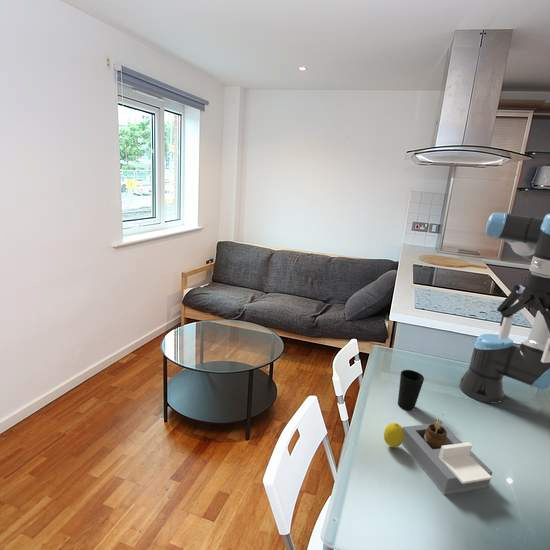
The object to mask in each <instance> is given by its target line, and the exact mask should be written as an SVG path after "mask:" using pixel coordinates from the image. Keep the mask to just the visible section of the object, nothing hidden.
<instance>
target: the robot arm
mask: <svg viewBox="0 0 550 550" xmlns="http://www.w3.org/2000/svg"><path fill="white" fill-rule="evenodd" d="M485 234H486V236H487V237H489V238H493V239H496V240H498V239H499V240H503V241H505V242H506V243H507V244H509V245H510V247H511V249H512V251H513V252H514V254H516V255H518V256H520V257H522V258H523V259H526V260H528V261H530V266H529V269H528V270H529V271H530V272H528V273H527V275H526V279H525V282H524V285H523V284H515V285H514V286H513V287H512V291H511V292H510V293H509V294H508V296H507V297H506V298H505V299H504V300H503V301H502V303H501V304H500V305H499V306H498V307H497V310H496V311H497V312H499V313H500V314H501V319H500V324H499V326H500V331H499V334H493V333H485V334H484V333H483V334H480V335H478V336H477V338H476V339H475V340H476V341H475V343H474V344H473V351H472V354H471V358H470V363H469V367H468V369H467V370H466V371H465V373H463V374H464V375H463V376H462V377H461V378H460V381H459V383H458V384H459V385H458V386H460V387H459V389H460V388H461V389H460V390H461V392H462V393H464V394H465V393H466V394H467V396H468V395H469V396H468V397H470V396H471V397H470V398H472V397H473V398H472V399H473V400H476V399H477V401H479V402H482V401H483V403H486V402H490V403H489V404H492V403H491V402H499V401H501V400H502V401H503V399H504V394H505V393H504V389H503V388H504V386H503V385H504V382H503V379H504V377H507V378H510V379H513V380H515V381H517V382H520V383H523V384H525V385H529V386H530V387H533V388H536V389H538V390H539V389H540V390H543V391H546V390H549V389H550V213H548V214H546V215H545V216H544V218H543V217H542V218H541V217H536V216H535V217H533V216H526V215H519V214H514V213H507V212H493V213H492V214H490V215H489V217H488V220H487V221H486V226H485ZM522 294H523V297H522V298H521V299H519V298H520V297H521V296H522ZM526 307H528V308H532V309H534V310H535V311H537V312H536V315H535V318H534V320H533V323H532V326H531V328H530V332H529V335H528V339H526V340H523V341H522V342H521V343H520V346H518V345H514V341H513V339H512V338H509V336H510V333H511V332H510V331H511V328H512V325H513V322H514V317H513V316H514V315H515V314H516V313H518V312H520V311H521V310H523V309H525V308H526ZM466 394H465V395H466ZM502 401H501V402H502ZM499 403H500V402H499Z"/></svg>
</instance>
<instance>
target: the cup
mask: <svg viewBox="0 0 550 550" xmlns="http://www.w3.org/2000/svg"><path fill="white" fill-rule="evenodd" d="M399 378H400V379H399V386H398V387H399V389H398V399H397V406H398V407H399V408H400V409H402V410H405V411H407V412H408V411H411V412H412V411H414V410H415V407H416V404H417V401H418V399H419V395H420V392H421V390H422V387H423V383H424V381H425V377H424V376H423V375H422V374H421V373H420V372H418V371H415V370H411V369H404V370H401V372H400V376H399Z"/></svg>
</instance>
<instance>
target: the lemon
mask: <svg viewBox="0 0 550 550" xmlns="http://www.w3.org/2000/svg"><path fill="white" fill-rule="evenodd" d="M402 427H403V426H401V425H400V424H399V423H397V422H391V423H389V424H387V425H386V427H385V428H384V431H383V440H384V442H385V443H386V445H387V446H389V447H391V448H397V447H399V446H401V445H402V442H403V439H404V431H403V429H402Z"/></svg>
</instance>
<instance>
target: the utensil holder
mask: <svg viewBox="0 0 550 550" xmlns="http://www.w3.org/2000/svg"><path fill="white" fill-rule="evenodd" d="M443 416H445V414H443V413H442V416H441V417H440V416H437V417H438V418H435V420H434V423H435V424H434V423H429V424H430V425H429V426H428V428H427V431H426V432H425V435H424V439H423V440H424V441H425V442H426V443H427V444H428V445H429V446H430V447H431V448H432V449H440V448H441V446H444V445H446V436H447V431H446V429H445V428H444V427H442V426H443V425H442V426H441V423H443V424H444V425H445V424H446V423H447V422H446V421H447V420H444V421H443ZM439 418H441V420H440V419H439ZM442 421H443V422H442ZM438 423H440V424H439V425H438ZM445 426H446V425H445Z"/></svg>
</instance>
